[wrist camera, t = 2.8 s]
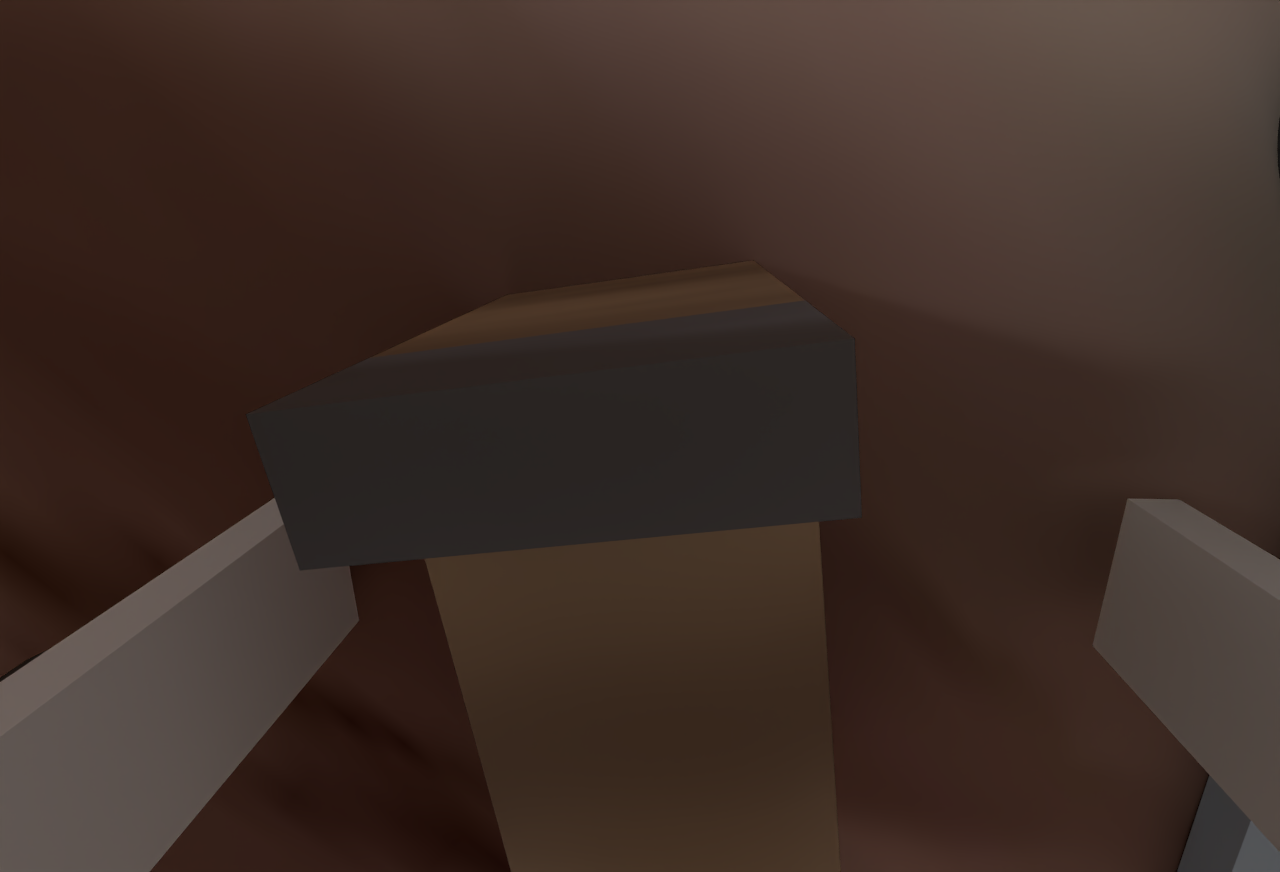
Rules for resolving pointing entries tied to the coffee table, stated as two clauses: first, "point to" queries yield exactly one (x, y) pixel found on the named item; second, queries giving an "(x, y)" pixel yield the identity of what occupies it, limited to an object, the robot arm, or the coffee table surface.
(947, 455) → the coffee table surface
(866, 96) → the coffee table surface
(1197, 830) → the jig
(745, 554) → the brown blocky piece
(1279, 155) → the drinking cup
